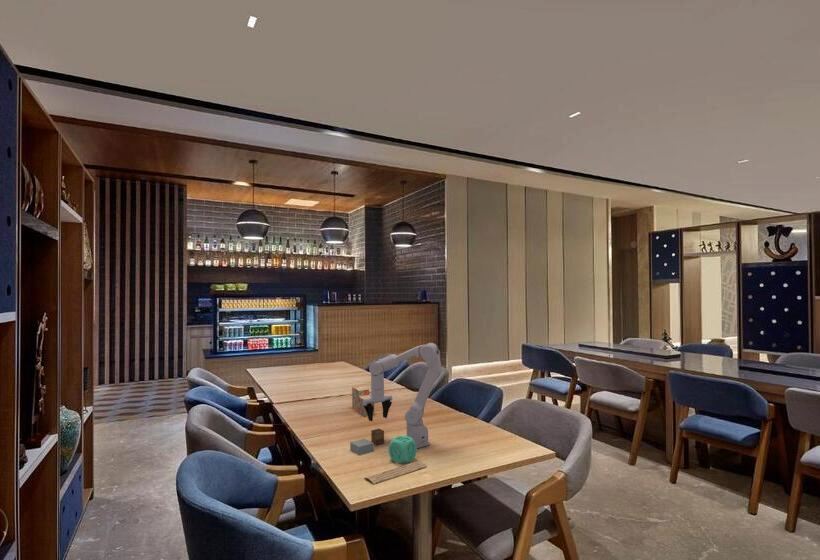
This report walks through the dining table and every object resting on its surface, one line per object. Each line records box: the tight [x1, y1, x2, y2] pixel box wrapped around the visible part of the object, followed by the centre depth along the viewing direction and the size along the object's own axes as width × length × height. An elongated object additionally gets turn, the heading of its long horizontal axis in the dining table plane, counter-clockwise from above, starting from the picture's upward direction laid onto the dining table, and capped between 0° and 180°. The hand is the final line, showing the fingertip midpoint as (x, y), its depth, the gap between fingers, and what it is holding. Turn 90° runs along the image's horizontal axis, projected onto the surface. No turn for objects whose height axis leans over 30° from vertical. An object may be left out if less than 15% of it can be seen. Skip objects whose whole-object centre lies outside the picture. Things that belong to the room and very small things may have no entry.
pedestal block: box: [349, 438, 375, 456], centre depth 177 cm, size 7×7×4 cm
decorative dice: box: [388, 435, 418, 464], centre depth 167 cm, size 8×8×8 cm
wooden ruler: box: [364, 460, 428, 486], centre depth 154 cm, size 24×7×2 cm, turn 127°
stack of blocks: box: [351, 385, 375, 417], centre depth 238 cm, size 21×6×12 cm, turn 25°
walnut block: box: [370, 428, 385, 446], centre depth 186 cm, size 4×4×6 cm
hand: (377, 419), depth 189 cm, fingers open, 7 cm apart
